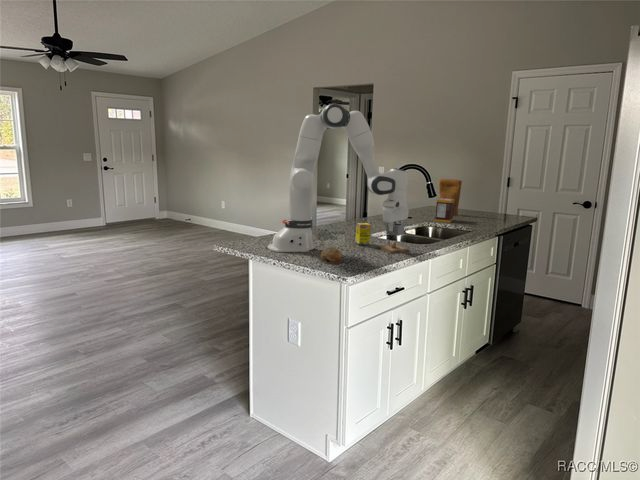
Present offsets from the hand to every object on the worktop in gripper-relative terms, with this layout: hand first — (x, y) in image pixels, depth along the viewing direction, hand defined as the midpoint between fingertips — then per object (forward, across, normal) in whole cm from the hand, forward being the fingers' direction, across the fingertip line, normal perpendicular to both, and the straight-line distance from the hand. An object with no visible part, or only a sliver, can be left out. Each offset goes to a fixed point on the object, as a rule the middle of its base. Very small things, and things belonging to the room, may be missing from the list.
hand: (395, 230), depth 227 cm
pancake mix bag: (+10, -148, -31) cm, 152 cm away
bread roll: (+10, +40, -9) cm, 43 cm away
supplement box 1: (+10, 0, -18) cm, 21 cm away
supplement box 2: (+10, -116, -21) cm, 118 cm away
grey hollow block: (+2, 0, 0) cm, 2 cm away
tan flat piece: (+10, 0, 0) cm, 10 cm away
